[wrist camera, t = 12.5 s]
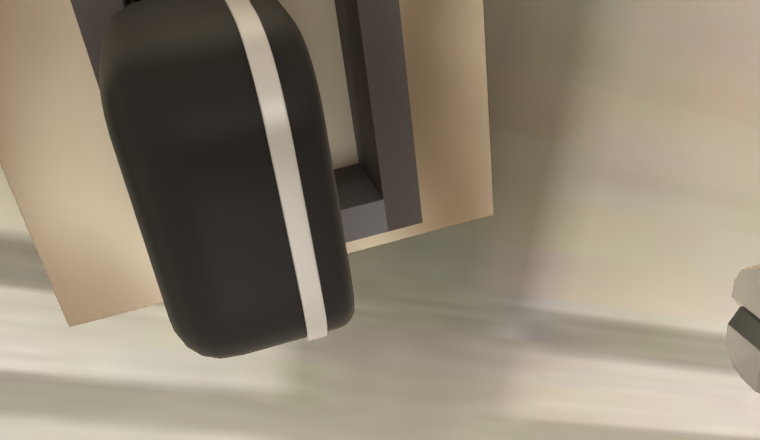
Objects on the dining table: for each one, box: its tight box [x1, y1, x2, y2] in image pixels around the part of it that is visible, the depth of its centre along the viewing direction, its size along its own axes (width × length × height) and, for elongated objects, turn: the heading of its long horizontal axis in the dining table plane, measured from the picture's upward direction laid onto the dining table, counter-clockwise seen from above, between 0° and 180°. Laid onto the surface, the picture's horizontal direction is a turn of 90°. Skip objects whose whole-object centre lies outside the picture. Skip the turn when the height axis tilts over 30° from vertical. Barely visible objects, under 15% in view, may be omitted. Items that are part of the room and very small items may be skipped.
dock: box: [0, 0, 494, 327], centre depth 22 cm, size 16×16×4 cm
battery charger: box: [99, 0, 354, 359], centre depth 18 cm, size 7×4×11 cm, turn 7°
